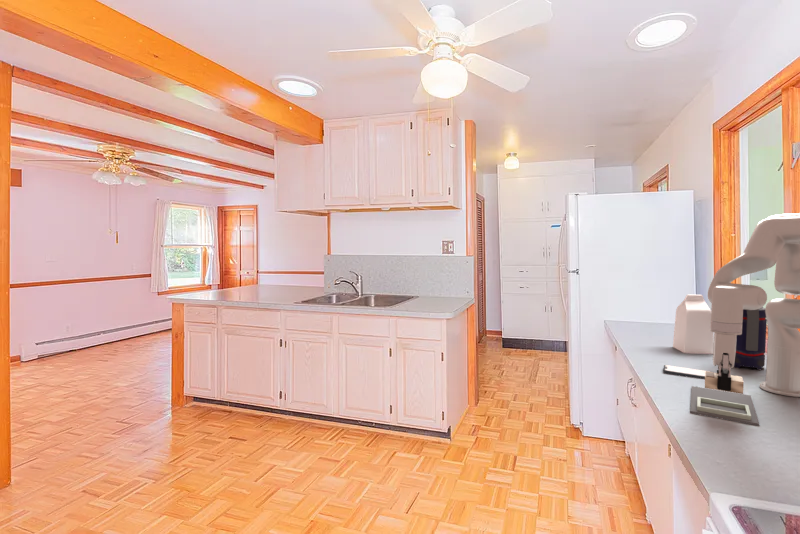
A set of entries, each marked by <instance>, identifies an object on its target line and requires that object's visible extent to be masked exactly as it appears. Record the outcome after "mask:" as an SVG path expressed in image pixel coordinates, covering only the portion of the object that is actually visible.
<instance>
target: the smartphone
mask: <svg viewBox="0 0 800 534" xmlns="http://www.w3.org/2000/svg"><path fill="white" fill-rule="evenodd" d="M706 371H707V370H703V369H695V368H691V367H690V368H689V367H684V366H683V367H681V366H675V365H669V364H667V365H663V373H664V374H665V375H674V376H679V375H680V376H681V377H686V376H687V377H688V378H694V379H695V378H696V379H704V380H705V372H706ZM708 371H709V370H708ZM709 372H711V371H709Z"/></svg>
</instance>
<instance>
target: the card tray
mask: <svg viewBox="0 0 800 534" xmlns="http://www.w3.org/2000/svg"><path fill="white" fill-rule="evenodd" d="M701 402H706V403H711V404H717V405H723V406H729V407H734V408H740V409H745V412H746V414H742V413H736V412H731V411H725V410H720V409H714V408H708V407H703V406H700V404H701ZM697 410H698V411H704V412H709V413H715V414H720V415H726V416H731V417H737V418H742V419H747V420H751V413H750V410H749V406H748V405H744V404H738V403H732V402H726V401H721V400H715V399H709V398H703V397H697Z"/></svg>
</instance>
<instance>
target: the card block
mask: <svg viewBox="0 0 800 534" xmlns="http://www.w3.org/2000/svg"><path fill="white" fill-rule="evenodd" d="M705 371H706V372H705V379H704V388H707V389H713V390H719V389H717V379H718V376H719V373H717V372H714V371H710V372H709V370H705ZM743 379H744V378H743V376H740V375H732V374H731V391H726V392H732V393H738V394H744V384H745V383H744V380H743ZM719 391H725V390H719Z"/></svg>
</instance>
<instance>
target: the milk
mask: <svg viewBox="0 0 800 534" xmlns="http://www.w3.org/2000/svg"><path fill="white" fill-rule="evenodd" d="M710 308H711V307H709V305H708V303H706V300H705V299H704V296H703V294H686V296H685V298H684V300H683V301H682V302H681V303H679V304H678V306H677V307H676V309H675V318H674V319H675V320H674V330H673V341H672V348H673V349H675V350H678V351H679V352H682V353H683V354H696V355H697V354H701V355H713V343H714V332H712V331H710V328H711V309H710Z"/></svg>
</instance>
